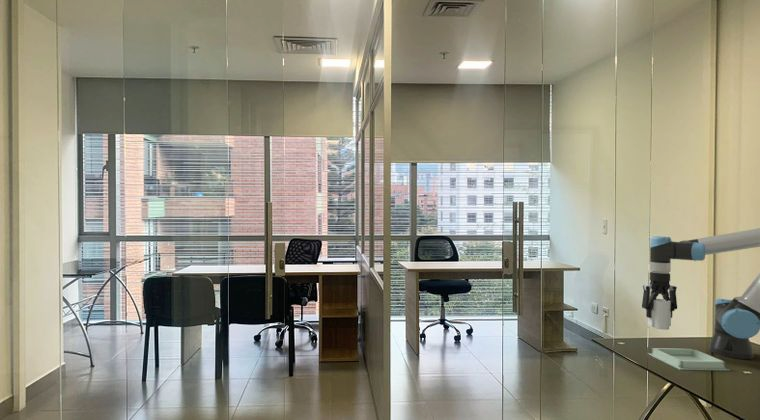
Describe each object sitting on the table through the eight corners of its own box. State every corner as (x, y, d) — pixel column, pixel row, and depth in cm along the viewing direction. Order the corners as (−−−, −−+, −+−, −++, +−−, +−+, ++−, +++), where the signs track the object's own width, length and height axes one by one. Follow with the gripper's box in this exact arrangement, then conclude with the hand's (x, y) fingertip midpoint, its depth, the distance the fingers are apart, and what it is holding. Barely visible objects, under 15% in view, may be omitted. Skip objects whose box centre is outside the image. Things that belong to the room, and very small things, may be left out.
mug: (669, 330, 186) (670, 302, 187) (651, 328, 190) (651, 300, 190) (669, 326, 195) (670, 299, 195) (651, 324, 198) (652, 297, 199)
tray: (693, 355, 186) (693, 348, 186) (730, 370, 168) (730, 362, 168) (647, 354, 185) (648, 347, 185) (679, 369, 167) (680, 362, 167)
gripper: (675, 271, 197) (674, 323, 197) (632, 270, 196) (631, 323, 195) (688, 273, 190) (687, 327, 189) (643, 273, 188) (642, 327, 188)
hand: (659, 325), depth 192 cm, fingers closed on mug, 7 cm apart
